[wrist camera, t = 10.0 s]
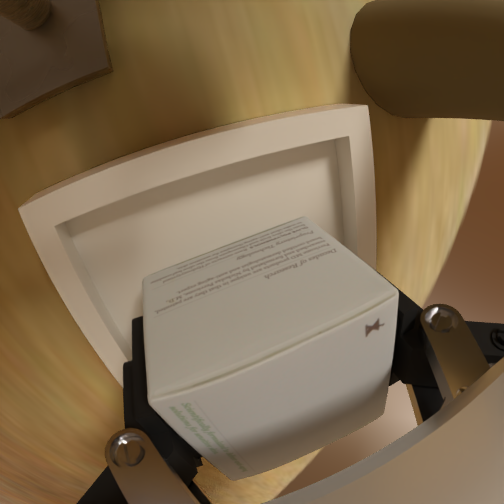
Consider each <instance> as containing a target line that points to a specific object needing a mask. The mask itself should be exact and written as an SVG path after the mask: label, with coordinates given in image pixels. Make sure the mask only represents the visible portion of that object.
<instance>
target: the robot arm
mask: <svg viewBox="0 0 504 504" xmlns="http://www.w3.org/2000/svg"><path fill="white" fill-rule="evenodd" d="M346 248H347V247H346ZM347 249H348V248H347ZM351 252H352V251H351ZM355 255H356V254H355ZM356 256H357V255H356ZM360 259H361V258H360ZM361 260H362V259H361ZM365 263H366V262H365ZM366 264H367V263H366ZM367 265H368V264H367ZM370 267H371V266H370ZM371 268H372V267H371ZM375 271H376V270H375ZM376 272H377V271H376ZM377 273H378V272H377ZM378 274H380V273H378ZM380 275H381V274H380ZM381 276H382V275H381ZM382 277H383V276H382ZM383 278H384V277H383ZM385 279H386V278H385ZM386 280H387V279H386ZM387 281H388V280H387ZM388 282H389V281H388ZM389 283H390V284H392V283H391V282H389ZM392 285H393V284H392ZM393 286H394V285H393ZM394 287H395V286H394ZM395 288H396V289H397V290H398V293H399V299H398V311H397V323H396V334H395V343H394V352H393V360H392V367H391V374H390V381H389V386H391V385H392V384H394V383H396V382H397V381H399V380H401V381H402V383H404V384H406V387H407V390H408V393H409V397H410V400H411V403H412V407H413V410H414V414H415V417H416V421H417V425H418V426H417V427H416V428H414V429H413V430H411V431H410V432H408V433H407V434H405V435H404V436H402V437H401V438H399V439H397V440H396V441H394V442H393V443H391V444H389V445H388V446H386V447H384V448H383V449H381V450H379V451H378V452H376V453H374V454H372V455H371V456H369V457H367V458H365V459H363V460H362V461H360V462H358V463H356V464H354V465H352V466H350V467H349V468H346V469H344V470H342V471H341V472H338V473H336V474H334V475H332V476H330V477H328V478H325V479H323V480H321V481H319V482H317V483H314V484H312V485H310V486H307V487H305V488H303V489H300V490H297V491H295V492H292V493H290V494H287V495H285V496H282V497H279V498H276V499H274V500H271V501H268V502H265V503H262V504H504V324H499V323H484V322H472V321H464V319H463V318H462V316H461V314H460V313H459V312H458V311H457V310H456V309H454V308H453V307H451V306H448V305H445V304H433V305H431V306H428V307H427V308H425V309H424V310H423V309H422V308H420V307H419V306H418V305H417V304H416V303H415V302H413V301H412V300H411V299H410V298H409V297H407V296H406V295H405V294H404V293H403V292H401V291H400V290H399V289H398V288H397V287H395ZM147 395H148V391H147V376H146V362H145V349H144V330H143V316H140V317H137V318H134V319H132V360H131V361H127V362H124V364H123V400H124V421H125V429H123V430H120V431H118V432H117V433H115V434H114V435H113V436H112V437H111V438H110V439H109V441H108V442H107V445H106V447H105V458H106V462H107V464H108V466H107V467H106V469H105V470H104V471H103V472H102V473H101V475H100V476H99V477H98V478H97V480H96V481H95V482H94V483H93V484H92V486H91V487H90V488H89V489H88V491H87V492H86V493H85V494H84V495H83V497H82V498H81V499H80V500H79V501H78V503H77V504H214V503H213V501H212V500H211V499H210V498H209V497H208V496H207V494H206V493H205V492H204V491H203V490H202V488H201V487H200V486H199V485H198V483H197V482H196V481H195V480H194V477H195V475H196V474H197V473H198V472H197V468H196V467H199V466H202V465H203V464H202V461H201V457H203V456H202V455H201V454H199V453H198V452H197V451H196V450H195V449H194V448H193V447H192V446H190V445H189V444H188V443H187V442H186V441H185V440H184V439H183V438H182V437H181V436H180V435H179V434H178V433H177V432H176V431H175V430H174V429H173V428H172V427H171V426H170V425H169V424H168V423H167V422H166V421H165V420H164V419H163V418H162V417H161V416H160V415H159V414H158V413H157V412H156V411H155V410H154V409H153V408H152V407H151V406H150V405H149V403H148V397H147Z"/></svg>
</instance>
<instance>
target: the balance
mask: <svg viewBox="0 0 504 504" xmlns="http://www.w3.org/2000/svg"><path fill="white" fill-rule="evenodd" d="M111 72H113V69H112V65H111V60H110V56H109V51H108V47H107V42H106V37H105V32H104V27H103V21H102V16H101V10H100V5H99V0H0V119H7V118H13V117H15V116H16V115H18V114H20V113H22V112H23V111H25V110H27V109H29V108H31V107H33V106H35V105H37V104H39V103H41V102H43V101H45V100H47V99H49V98H51V97H53V96H55V95H57V94H59V93H61V92H64V91H66V90H68V89H70V88H73V87H75V86H77V85H80V84H82V83H85V82H87V81H90V80H92V79H95V78H97V77H100V76H103V75H105V74H108V73H111Z"/></svg>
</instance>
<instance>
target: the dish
mask: <svg viewBox="0 0 504 504" xmlns="http://www.w3.org/2000/svg"><path fill="white" fill-rule="evenodd" d="M18 211H19V213H20V215H21V218H22V220H23V223H24V225H25V227H26V229H27V232H28V234H29V236H30V238H31V240H32V243H33V245H34V247H35V249H36V251H37V253H38V255H39V257H40V259H41V261H42V263H43V265H44V267H45V269H46V271H47V273H48V275H49V277H50V278H51V280H52V282H53V284H54V286H55V288H56V289H57V291H58V293H59V295H60V296H61V298H62V300H63V302H64V303H65V305H66V307H67V308H68V310H69V312H70V313H71V315H72V316H73V318H74V320H75V321H76V323H77V324H78V326H79V328H80V329H81V331H82V332H83V334H84V335H85V337H86V338H87V340H88V341H89V343H90V344H91V346H92V347H93V348H94V350H95V351H96V353H97V354H98V356H99V357H100V358H101V360H102V361H103V363H104V364H105V365H106V367H107V368H108V369H109V371H110V372H111V373H112V375H113V376H114V377H115V379H116V380H117V381H118V382H119V384H120V385H121V386H122V388H123V364H124V362H127V361H131V360H132V319H134V318H137V317H140V316H143V298H142V294H143V293H142V281H143V278H144V277H146V276H148V275H150V274H153V273H155V272H157V271H160V270H162V269H165V268H167V267H170V266H172V265H175V264H178V263H180V262H183V261H185V260H188V259H191V258H193V257H196V256H199V255H201V254H204V253H207V252H209V251H212V250H214V249H217V248H219V247H222V246H224V245H227V244H230V243H232V242H235V241H238V240H240V239H243V238H245V237H248V236H251V235H253V234H256V233H259V232H261V231H264V230H267V229H269V228H272V227H275V226H277V225H280V224H283V223H286V222H289V221H291V220H294V219H297V218H299V217H303V216H305V217H307V218H309V219H310V220H311V221H312V222H314V223H315V224H316V225H317V226H319V227H320V228H321V229H323V230H324V231H325V232H327V233H328V234H329V235H331V236H332V237H333V238H335V239H336V240H337V241H338V242H340V243H341V244H342V245H343V246H345V247H347V248H348V249H349V250H350V251H352V252H353V253H354V254H356V255H357V256H358V257H359V258H361V259H362V260H363V261H364V262H366V263H367V264H368V265H369V266H371V267H372V268H373V269H374V270H376V247H377V232H376V193H375V174H374V160H373V147H372V137H371V127H370V118H369V110H368V105H358V104H333V105H326V106H319V107H312V108H306V109H300V110H295V111H289V112H284V113H278V114H273V115H268V116H264V117H259V118H254V119H250V120H245V121H241V122H237V123H233V124H229V125H225V126H221V127H217V128H213V129H209V130H205V131H202V132H198V133H194V134H191V135H188V136H184V137H181V138H177V139H174V140H171V141H168V142H164V143H161V144H158V145H155V146H152V147H149V148H146V149H143V150H140V151H137V152H134V153H132V154H129V155H126V156H123V157H120V158H118V159H115V160H112V161H110V162H107V163H105V164H102V165H99V166H97V167H94V168H92V169H89V170H87V171H85V172H82V173H80V174H77V175H75V176H73V177H70V178H68V179H66V180H64V181H61V182H59V183H57V184H55V185H53V186H50V187H48V188H46V189H44V190H42V191H40V192H38V193H36V194H34V195H33V196H32V197H31V198H30V199H28V200H27V201H26V202H25V203H24V204H23V205H21V206H20V207H19V208H18Z"/></svg>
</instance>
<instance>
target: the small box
mask: <svg viewBox="0 0 504 504" xmlns="http://www.w3.org/2000/svg"><path fill="white" fill-rule="evenodd" d="M142 293H143V294H142V298H143V330H144V349H145V362H146V376H147V391H148V395H147V397H148V403H149V405H150V406H151V407H152V408H153V409H154V410H155V411H156V412H157V413H158V414H159V415H160V416H161V417H162V418H163V419H164V420H165V421H166V422H167V423H168V424H169V425H170V426H171V427H172V428H173V429H174V430H175V431H176V432H177V433H178V434H179V435H180V436H181V437H182V438H183V439H184V440H185V441H186V442H187V443H188V444H189V445H190V446H192V447H193V448H194V449H195V450H196V451H197V452H198V453H199V454H201V455H202V456H203V457H204V458H205V459H206V460H208V461H209V462H210V463H211V464H212V465H214V466H215V467H216V468H217V469H218V470H220V471H221V472H222V473H223V474H224V475H226V476H227V477H228V478H229V479H230V480H233V481H235V480H239V479H243V478H246V477H250V476H254V475H257V474H260V473H263V472H266V471H269V470H272V469H274V468H277V467H279V466H282V465H284V464H287V463H289V462H291V461H293V460H296V459H298V458H300V457H302V456H304V455H307V454H309V453H311V452H313V451H315V450H318V449H320V448H322V447H324V446H326V445H328V444H330V443H332V442H334V441H337V440H339V439H341V438H343V437H345V436H347V435H348V434H351V433H352V432H354V431H356V430H358V429H360V428H362V427H364V426H366V425H367V424H369V423H371V422H372V421H374V420H376V419H377V418H379V417H380V416H381V415H383V413H384V409H385V404H386V398H387V393H388V386H389V381H390V374H391V367H392V360H393V352H394V343H395V334H396V323H397V311H398V299H399V293H398V290H397V289H396V288H395V287H394V286H393V285H392V284H390V283H389V282H388V281H387V280H386V279H385V278H383V277H382V276H381V275H380V274H378V273H377V272H376V271H375V270H374V269H373V268H371V267H370V266H369V265H367V264H366V263H365V262H364V261H363V260H361V259H360V258H359V257H358V256H356V255H355V254H354V253H353V252H351V251H350V250H349V249H347V248H346V247H345V246H343V245H342V244H341V243H340V242H338V241H337V240H336V239H335V238H333V237H332V236H331V235H329V234H328V233H327V232H325V231H324V230H323V229H321V228H320V227H319V226H317V225H316V224H315V223H314V222H312V221H311V220H310V219H309V218H307V217H305V216H303V217H299V218H297V219H294V220H291V221H289V222H286V223H283V224H280V225H277V226H275V227H272V228H269V229H267V230H264V231H261V232H259V233H256V234H253V235H251V236H248V237H245V238H243V239H240V240H238V241H235V242H232V243H230V244H227V245H224V246H222V247H219V248H217V249H214V250H212V251H209V252H207V253H204V254H201V255H199V256H196V257H193V258H191V259H188V260H185V261H183V262H180V263H178V264H175V265H172V266H170V267H167V268H165V269H162V270H160V271H157V272H155V273H153V274H150V275H148V276H146V277H144V278H143V281H142Z"/></svg>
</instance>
